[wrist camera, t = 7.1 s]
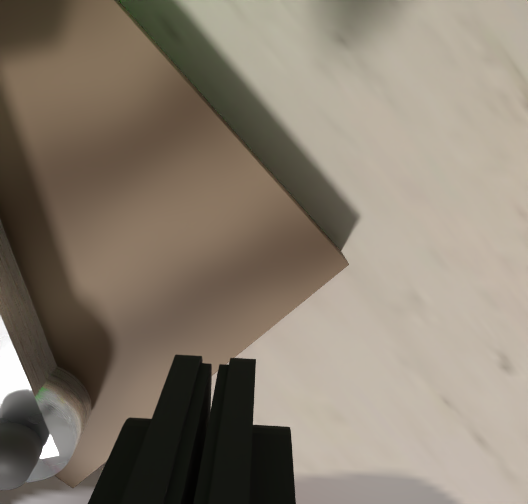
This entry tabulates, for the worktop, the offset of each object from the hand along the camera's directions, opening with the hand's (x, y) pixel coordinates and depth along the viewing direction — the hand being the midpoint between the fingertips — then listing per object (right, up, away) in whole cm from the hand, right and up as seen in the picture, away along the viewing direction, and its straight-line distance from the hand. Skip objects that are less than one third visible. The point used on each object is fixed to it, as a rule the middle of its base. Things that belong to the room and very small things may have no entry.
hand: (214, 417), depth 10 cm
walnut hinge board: (-8, +5, +8) cm, 12 cm away
